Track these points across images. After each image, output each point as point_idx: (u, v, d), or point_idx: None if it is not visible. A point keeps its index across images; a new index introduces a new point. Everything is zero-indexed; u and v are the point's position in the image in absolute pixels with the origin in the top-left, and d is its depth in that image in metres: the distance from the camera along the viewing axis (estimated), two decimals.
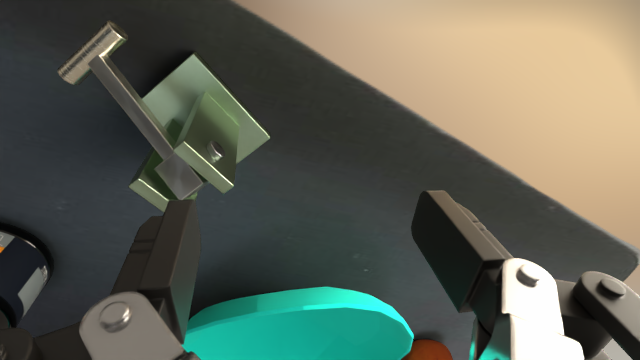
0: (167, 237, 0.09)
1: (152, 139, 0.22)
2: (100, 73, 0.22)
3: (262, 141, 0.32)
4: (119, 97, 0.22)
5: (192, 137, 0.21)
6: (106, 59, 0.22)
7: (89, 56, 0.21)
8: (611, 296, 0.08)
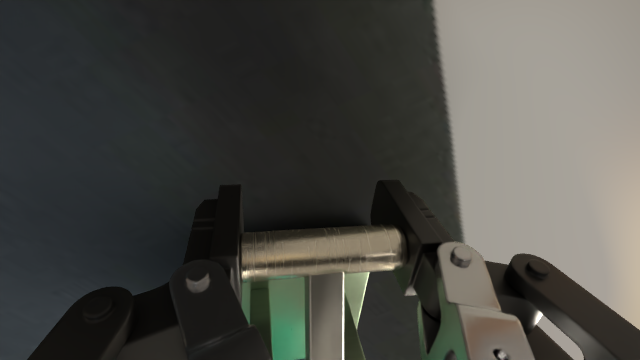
0: (226, 216, 0.09)
1: None
2: (321, 306, 0.10)
3: None
4: None
5: None
6: None
7: (328, 270, 0.09)
8: (535, 276, 0.08)
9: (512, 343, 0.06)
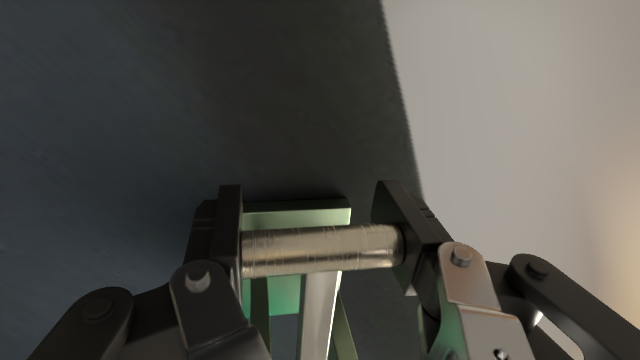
0: (225, 216, 0.09)
1: None
2: (315, 294, 0.11)
3: None
4: (312, 331, 0.12)
5: None
6: None
7: (325, 271, 0.10)
8: (536, 276, 0.08)
9: (512, 343, 0.06)
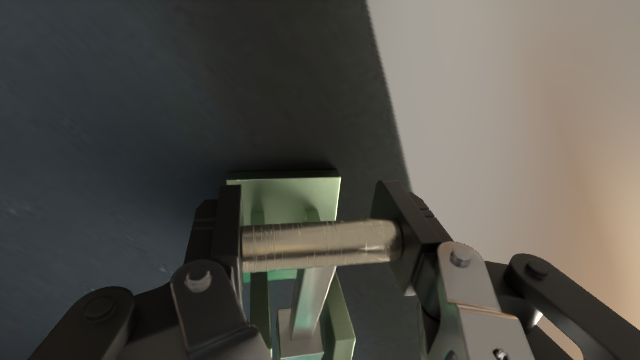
0: (226, 216, 0.09)
1: (299, 330, 0.15)
2: (312, 279, 0.11)
3: None
4: (307, 301, 0.13)
5: None
6: None
7: (323, 266, 0.10)
8: (535, 276, 0.08)
9: (512, 343, 0.06)
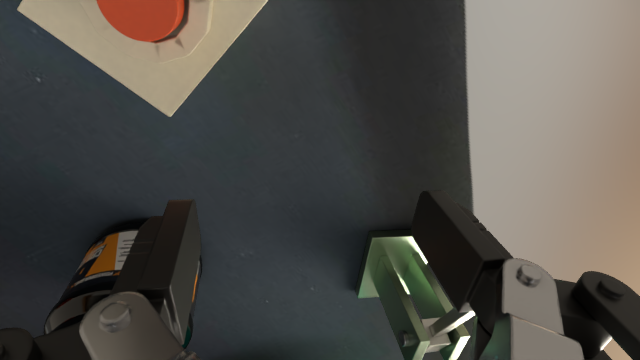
0: (167, 237, 0.08)
1: (443, 331, 0.29)
2: None
3: (410, 292, 0.42)
4: (462, 318, 0.27)
5: None
6: None
7: None
8: (611, 296, 0.08)
9: None
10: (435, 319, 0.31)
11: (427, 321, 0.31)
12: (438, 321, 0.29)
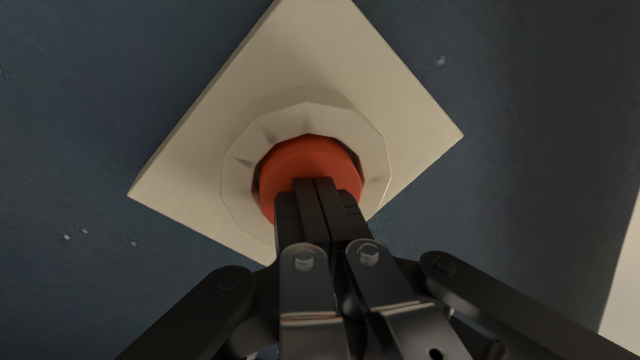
0: (308, 206, 0.10)
1: None
2: None
3: None
4: None
5: None
6: None
7: None
8: (439, 273, 0.08)
9: (441, 336, 0.06)
10: None
11: None
12: None
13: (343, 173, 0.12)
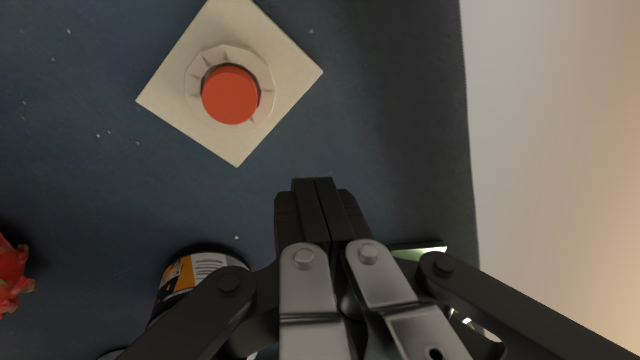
0: (308, 206, 0.10)
1: None
2: None
3: None
4: None
5: None
6: None
7: None
8: (439, 273, 0.08)
9: (441, 336, 0.06)
10: None
11: None
12: None
13: (245, 85, 0.24)
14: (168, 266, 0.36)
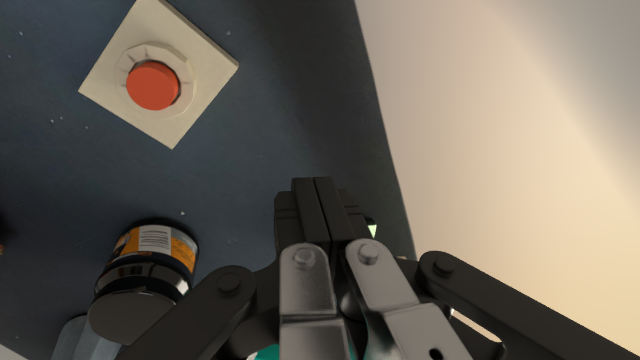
0: (308, 205, 0.10)
1: None
2: None
3: None
4: None
5: None
6: None
7: None
8: (439, 273, 0.08)
9: (441, 336, 0.06)
10: None
11: None
12: None
13: (162, 78, 0.29)
14: (120, 236, 0.42)
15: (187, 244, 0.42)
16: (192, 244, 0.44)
